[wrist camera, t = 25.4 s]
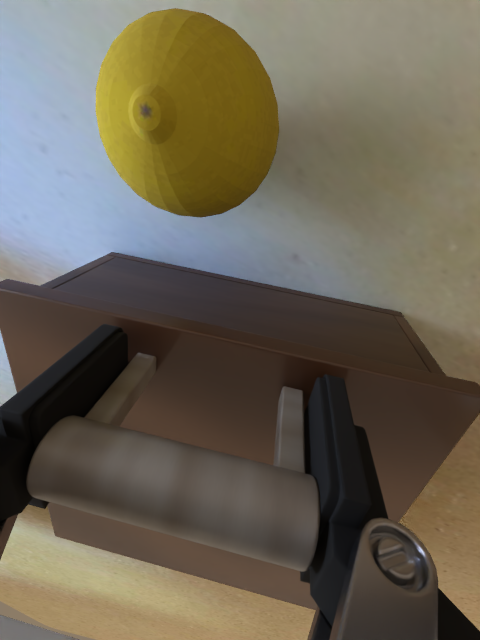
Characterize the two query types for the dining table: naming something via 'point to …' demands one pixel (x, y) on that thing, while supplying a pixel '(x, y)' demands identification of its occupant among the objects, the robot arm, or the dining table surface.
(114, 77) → the lemon
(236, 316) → the box
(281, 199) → the dining table surface
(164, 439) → the lid
